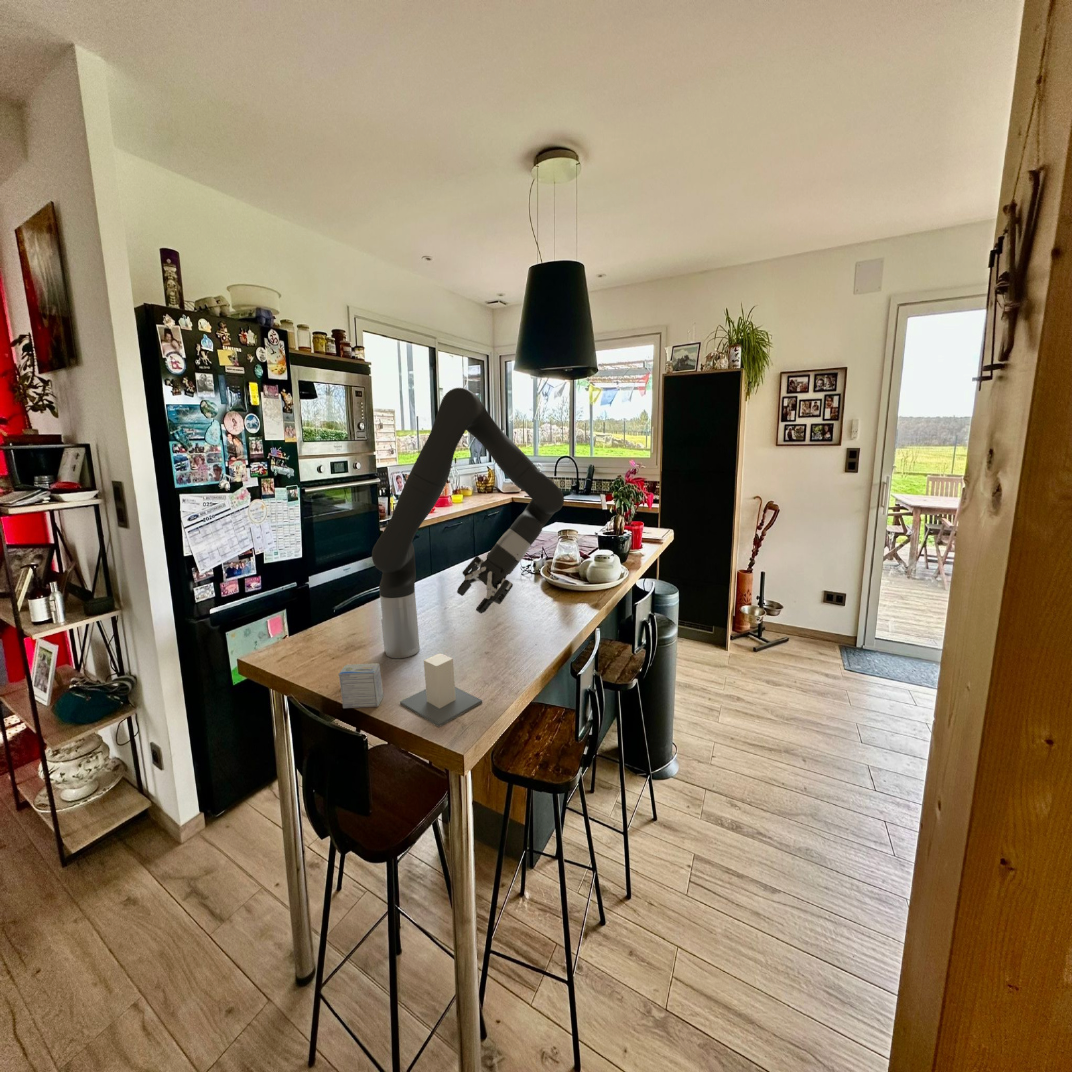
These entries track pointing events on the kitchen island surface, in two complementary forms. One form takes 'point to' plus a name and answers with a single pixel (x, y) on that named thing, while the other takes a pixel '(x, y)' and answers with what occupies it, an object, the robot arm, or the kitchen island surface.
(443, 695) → the cream block
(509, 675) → the kitchen island surface
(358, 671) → the medicine box
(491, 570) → the robot arm
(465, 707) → the slate mat
